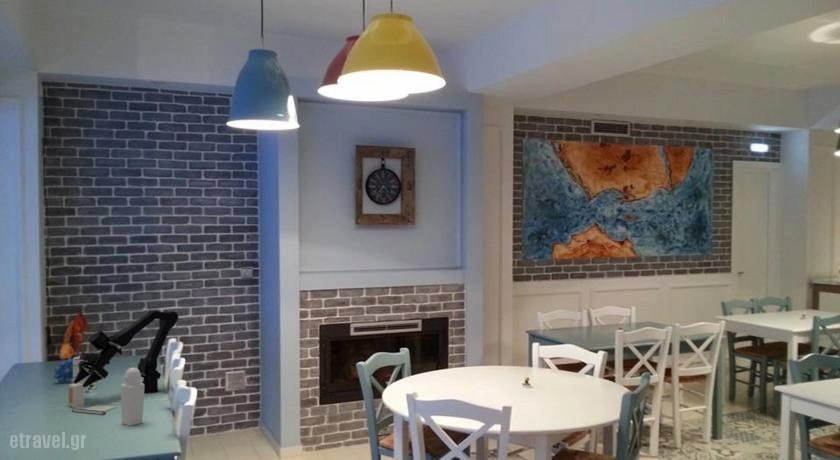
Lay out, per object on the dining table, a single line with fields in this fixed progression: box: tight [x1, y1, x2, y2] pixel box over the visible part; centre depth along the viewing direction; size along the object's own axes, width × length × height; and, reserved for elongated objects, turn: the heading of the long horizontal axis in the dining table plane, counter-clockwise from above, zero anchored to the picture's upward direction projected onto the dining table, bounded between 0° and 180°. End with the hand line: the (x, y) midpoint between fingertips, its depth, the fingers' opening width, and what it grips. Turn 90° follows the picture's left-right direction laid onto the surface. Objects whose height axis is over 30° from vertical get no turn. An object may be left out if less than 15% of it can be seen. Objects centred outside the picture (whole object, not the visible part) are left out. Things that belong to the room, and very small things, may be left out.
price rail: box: [71, 407, 107, 416], centre depth 271 cm, size 16×1×1 cm, turn 75°
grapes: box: [53, 358, 73, 384], centre depth 323 cm, size 12×7×12 cm, turn 116°
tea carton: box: [68, 383, 85, 408], centre depth 283 cm, size 5×5×9 cm
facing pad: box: [85, 404, 118, 412], centre depth 277 cm, size 10×10×1 cm
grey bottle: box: [120, 367, 145, 427], centre depth 258 cm, size 6×6×22 cm
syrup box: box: [72, 355, 90, 384], centre depth 317 cm, size 6×6×14 cm
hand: (78, 384), depth 283 cm, fingers open, 9 cm apart
